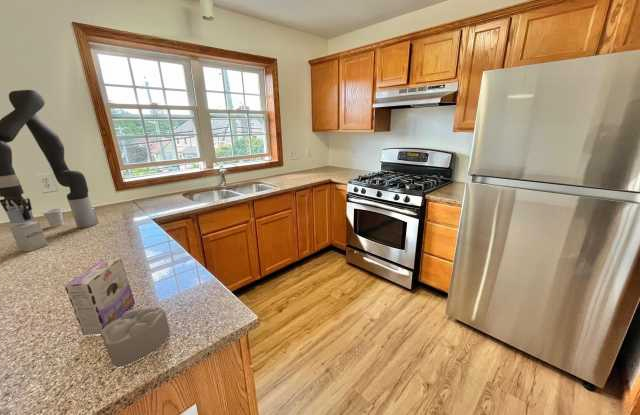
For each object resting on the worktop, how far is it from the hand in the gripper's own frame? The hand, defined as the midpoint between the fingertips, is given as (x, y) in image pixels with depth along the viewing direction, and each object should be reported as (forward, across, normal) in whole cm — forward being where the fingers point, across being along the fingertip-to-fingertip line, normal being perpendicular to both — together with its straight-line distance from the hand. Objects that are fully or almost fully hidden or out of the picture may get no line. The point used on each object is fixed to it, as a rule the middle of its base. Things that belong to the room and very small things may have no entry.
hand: (22, 219), depth 125 cm
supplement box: (+15, 0, 0) cm, 15 cm away
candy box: (+15, -87, +43) cm, 98 cm away
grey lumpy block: (+15, -104, +51) cm, 117 cm away
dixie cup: (+15, +23, -29) cm, 40 cm away
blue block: (+1, 0, 0) cm, 1 cm away
